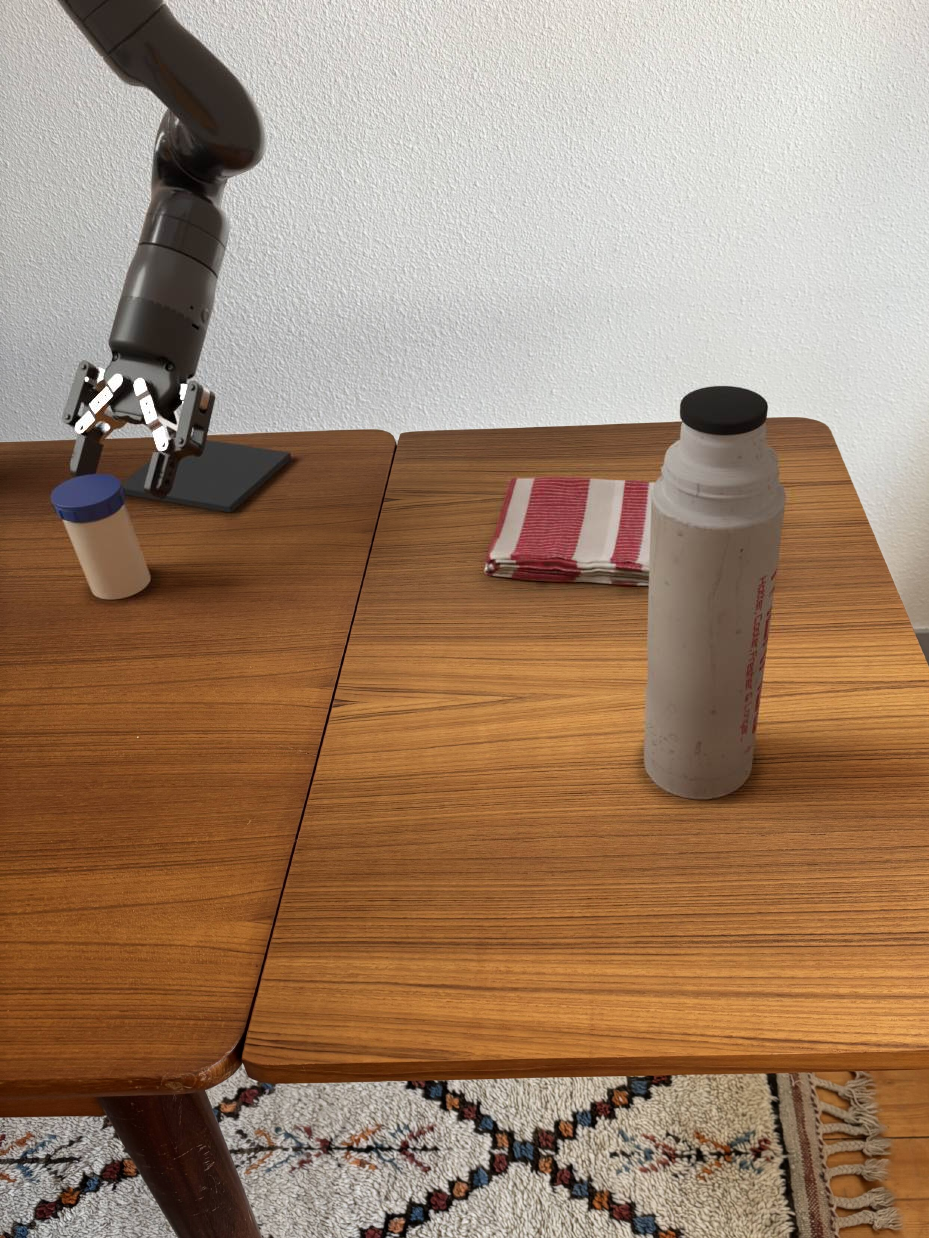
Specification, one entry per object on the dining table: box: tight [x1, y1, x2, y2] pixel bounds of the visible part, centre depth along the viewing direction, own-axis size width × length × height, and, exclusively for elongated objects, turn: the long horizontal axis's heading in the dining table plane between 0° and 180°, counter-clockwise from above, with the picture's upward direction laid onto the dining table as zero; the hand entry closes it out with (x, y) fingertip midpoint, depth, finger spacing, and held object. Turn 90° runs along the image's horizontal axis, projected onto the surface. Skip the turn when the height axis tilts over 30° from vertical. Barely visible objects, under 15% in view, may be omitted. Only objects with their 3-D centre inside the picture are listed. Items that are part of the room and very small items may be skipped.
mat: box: [120, 437, 292, 514], centre depth 112 cm, size 14×12×1 cm
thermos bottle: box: [643, 385, 787, 800], centre depth 68 cm, size 8×8×28 cm
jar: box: [62, 502, 152, 601], centre depth 95 cm, size 5×5×9 cm
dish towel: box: [483, 476, 656, 587], centre depth 100 cm, size 17×23×3 cm
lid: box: [50, 473, 127, 522], centre depth 92 cm, size 6×6×2 cm
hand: (117, 487), depth 94 cm, fingers open, 8 cm apart
